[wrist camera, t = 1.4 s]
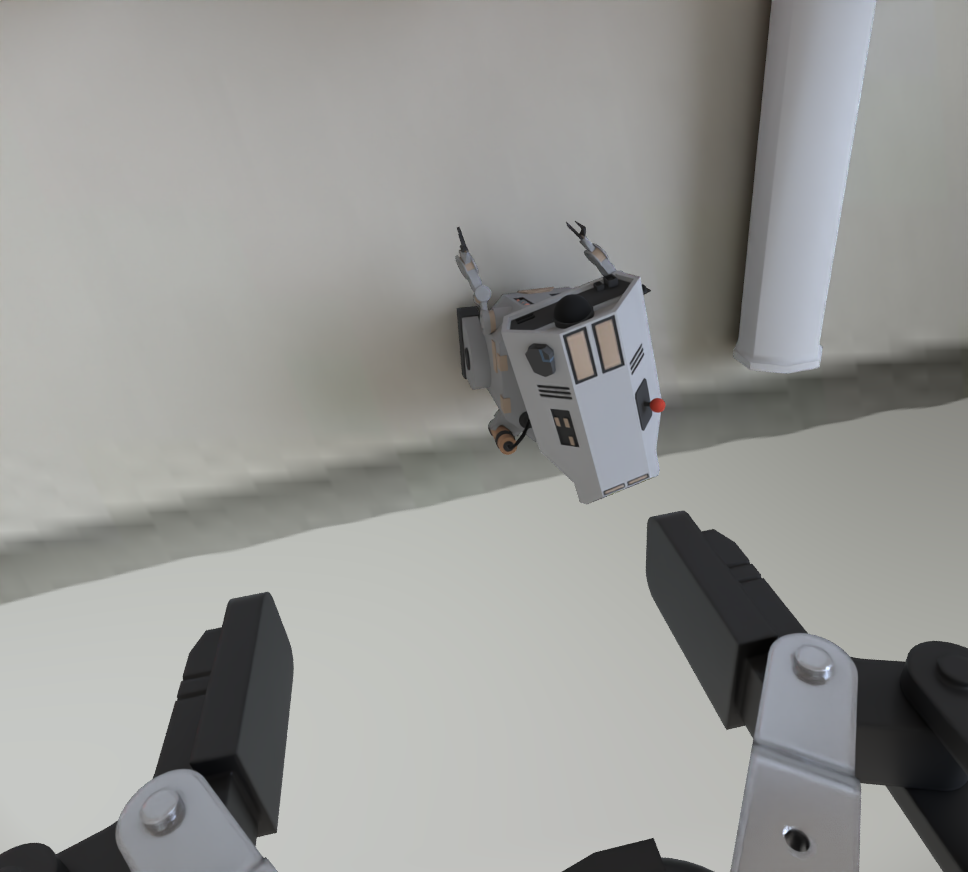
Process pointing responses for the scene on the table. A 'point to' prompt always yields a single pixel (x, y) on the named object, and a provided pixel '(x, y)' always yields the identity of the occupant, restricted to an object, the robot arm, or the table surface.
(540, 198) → the table surface
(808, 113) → the tube
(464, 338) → the figurine
